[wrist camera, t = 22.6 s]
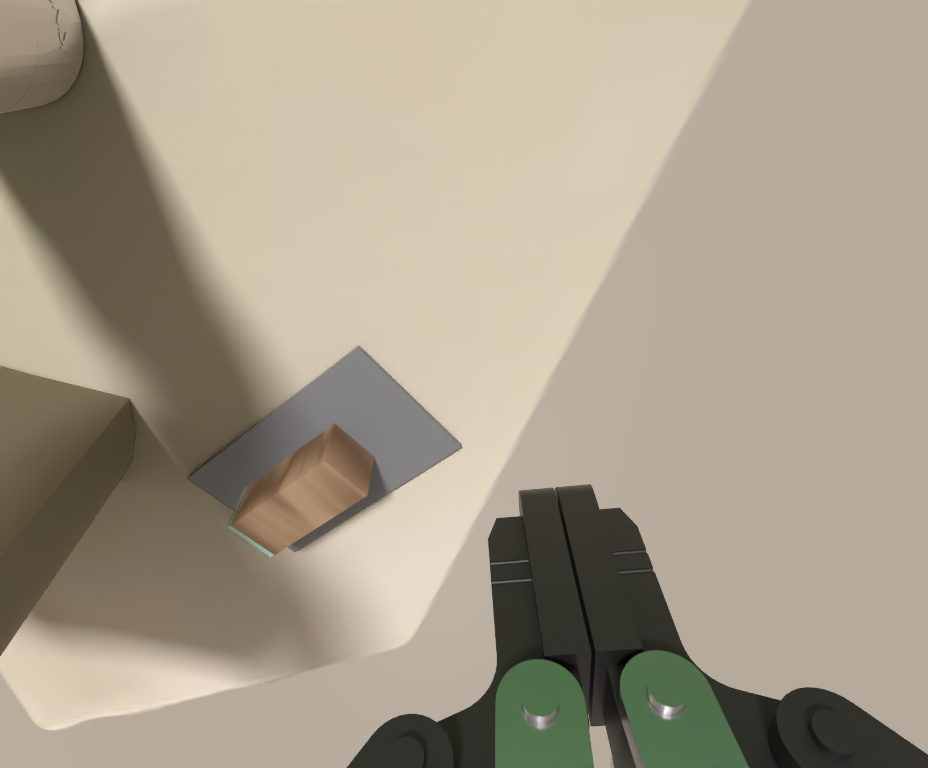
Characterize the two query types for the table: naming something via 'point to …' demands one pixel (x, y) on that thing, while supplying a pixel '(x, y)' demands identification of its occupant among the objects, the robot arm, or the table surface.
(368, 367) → the rubber mat
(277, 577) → the table surface
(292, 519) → the walnut block
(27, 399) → the book
